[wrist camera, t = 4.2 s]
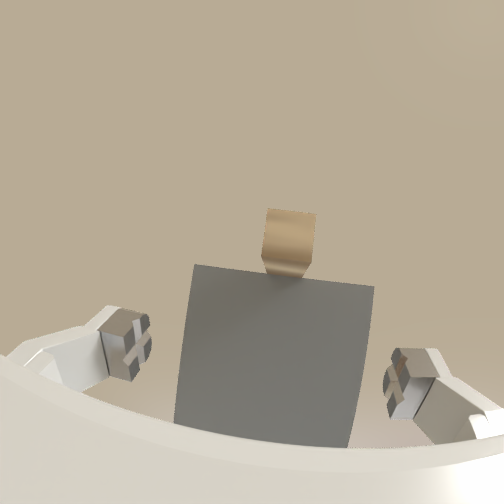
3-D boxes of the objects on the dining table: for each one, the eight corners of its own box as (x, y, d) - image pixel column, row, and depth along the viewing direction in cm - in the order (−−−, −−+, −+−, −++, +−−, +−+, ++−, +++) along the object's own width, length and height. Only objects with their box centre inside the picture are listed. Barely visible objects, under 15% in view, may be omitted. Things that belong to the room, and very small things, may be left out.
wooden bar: (311, 261, 19) (316, 213, 19) (261, 256, 19) (267, 208, 20) (295, 288, 38) (298, 264, 39) (271, 285, 39) (274, 261, 39)
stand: (312, 553, 21) (374, 286, 26) (166, 531, 23) (194, 264, 28) (306, 502, 33) (346, 294, 38) (193, 485, 34) (219, 278, 40)
